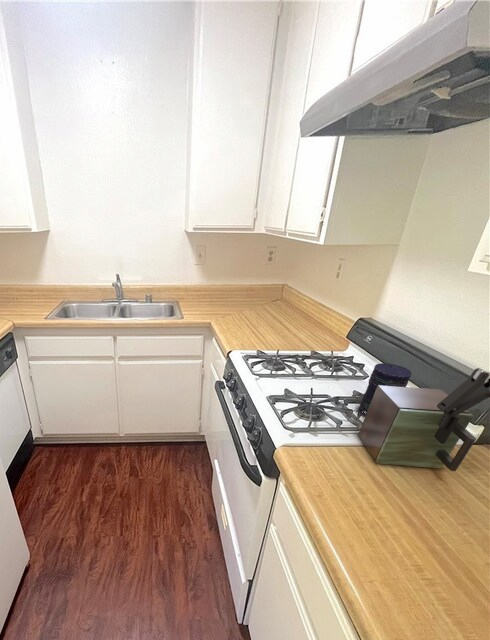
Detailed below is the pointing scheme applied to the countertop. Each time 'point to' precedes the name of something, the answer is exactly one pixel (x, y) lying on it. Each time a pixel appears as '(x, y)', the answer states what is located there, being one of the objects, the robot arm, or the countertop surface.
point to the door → (424, 441)
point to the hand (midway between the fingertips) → (471, 442)
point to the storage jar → (383, 381)
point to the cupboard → (394, 411)
